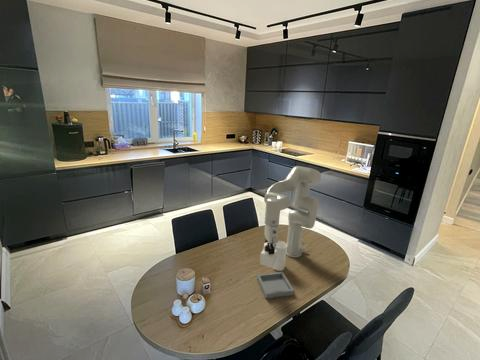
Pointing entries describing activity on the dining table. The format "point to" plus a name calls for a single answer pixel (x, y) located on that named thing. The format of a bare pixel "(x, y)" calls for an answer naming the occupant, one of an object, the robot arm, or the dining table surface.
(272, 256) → the medicine bottle
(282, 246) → the cup
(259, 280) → the tray
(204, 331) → the dining table surface
